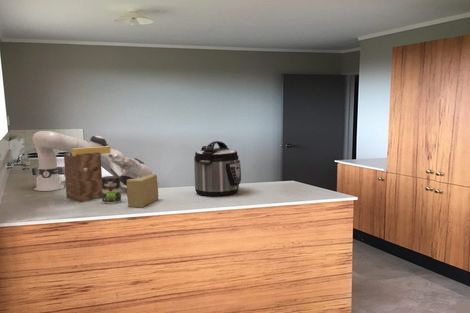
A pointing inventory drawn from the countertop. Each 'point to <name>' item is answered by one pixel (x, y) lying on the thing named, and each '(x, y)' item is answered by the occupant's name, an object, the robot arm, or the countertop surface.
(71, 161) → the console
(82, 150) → the lever bar
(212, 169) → the pressure cooker
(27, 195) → the countertop surface
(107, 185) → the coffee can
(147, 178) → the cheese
